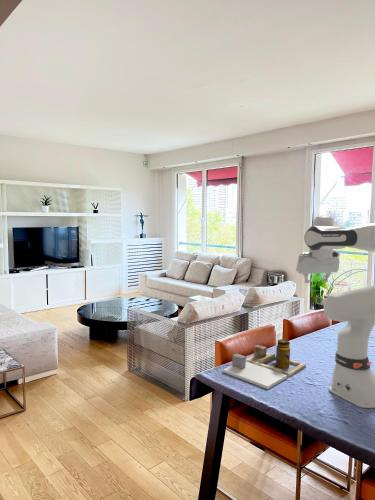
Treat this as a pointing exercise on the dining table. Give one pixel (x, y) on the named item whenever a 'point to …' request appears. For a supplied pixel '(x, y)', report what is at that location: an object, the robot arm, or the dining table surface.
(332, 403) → the dining table surface
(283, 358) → the condiment
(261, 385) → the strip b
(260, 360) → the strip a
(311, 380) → the dining table surface
